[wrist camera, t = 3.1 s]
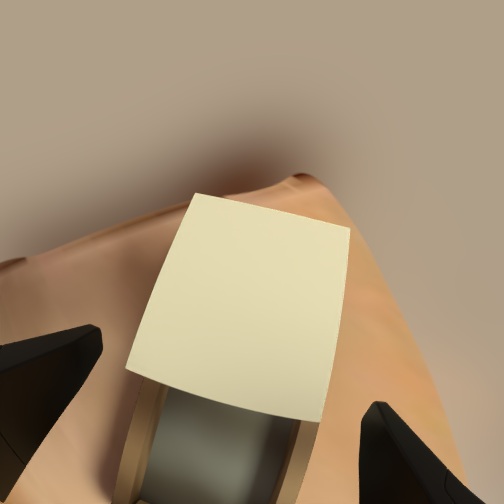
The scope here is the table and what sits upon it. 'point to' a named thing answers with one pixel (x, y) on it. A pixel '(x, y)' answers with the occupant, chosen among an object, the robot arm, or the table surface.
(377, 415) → the robot arm
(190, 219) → the block
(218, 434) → the track
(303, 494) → the table surface
